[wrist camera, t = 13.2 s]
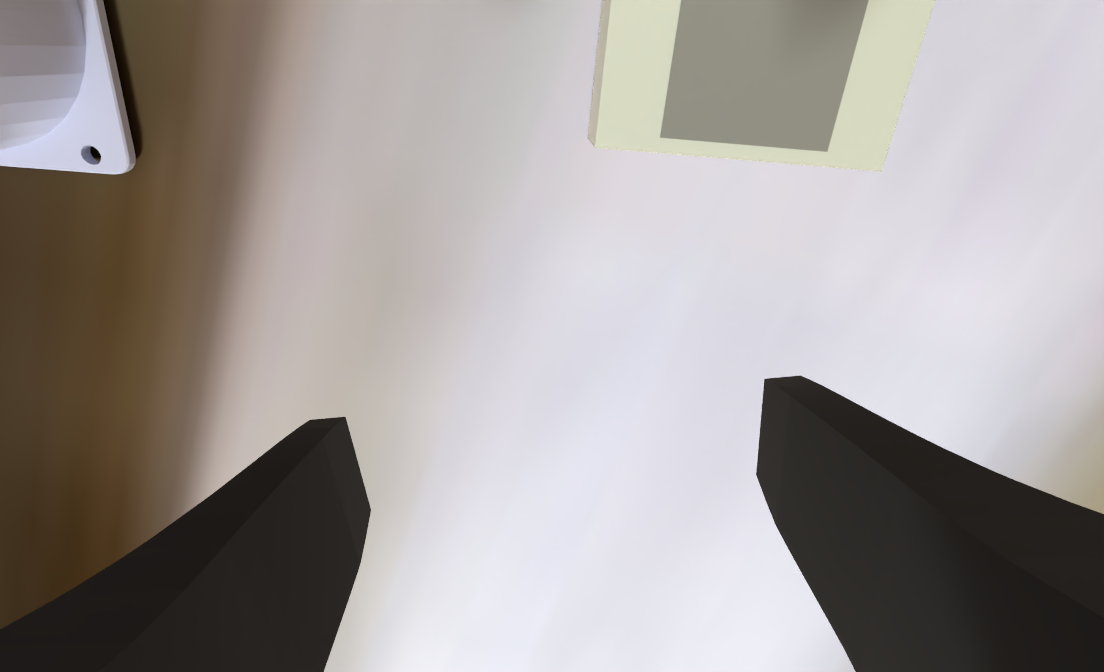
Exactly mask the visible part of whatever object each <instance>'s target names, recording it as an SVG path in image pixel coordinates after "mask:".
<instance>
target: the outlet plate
mask: <svg viewBox="0 0 1104 672" xmlns="http://www.w3.org/2000/svg"><path fill="white" fill-rule="evenodd" d="M934 3H935V0H602V8H601V17H600V27H599V36H598V46H597V55H596V65H595V74H594V84H593V93H592V103H591V112H590V121H589V131H588V139H589V141H590V142H591V143H592V145H593V146H594V147H595V148H603V149H615V150H627V151H640V152H652V153H664V154H676V155H688V156H700V157H712V158H724V159H736V160H748V161H760V162H773V163H785V164H797V165H809V166H821V167H833V168H845V169H857V170H869V171H882V168H883V165H884V162H885V159H886V155H887V152H888V149H889V146H890V143H891V139H892V136H893V133H894V130H895V127H896V124H897V120H898V117H899V114H900V111H901V108H902V104H903V101H904V98H905V95H906V92H907V89H908V85H909V82H910V79H911V76H912V73H913V69H914V66H915V63H916V60H917V57H918V54H919V50H920V47H921V44H922V41H923V38H924V34H925V31H926V28H927V25H928V22H929V19H930V15H931V12H932V9H933V6H934Z"/></svg>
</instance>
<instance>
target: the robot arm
mask: <svg viewBox="0 0 1104 672" xmlns="http://www.w3.org/2000/svg"><path fill="white" fill-rule="evenodd" d="M91 146H93V147H95V148H96V149H97V150H98V151H99V153H100V155H101V161H100V162H99V161H97V160H95V159H94V158H93V157H92V155H91V153H90V147H91ZM135 163H136V156H135V151H134V146H133V141H132V137H131V132H130V127H129V122H128V117H127V113H126V108H125V103H124V98H123V93H122V89H121V84H120V79H119V74H118V69H117V65H116V60H115V55H114V50H113V45H112V41H111V36H110V31H109V26H108V21H107V16H106V12H105V7H104V2H103V0H0V166H11V167H24V168H37V169H51V170H64V171H77V172H91V173H104V174H121V173H125V172H128V171H130V170H131V169H133V167H134V165H135ZM756 475H757V478H758V481H759V483H760V486H761V489H762V491H763V494H764V497H765V499H766V502H767V504H768V507H769V509H770V512H771V514H772V517H773V519H774V522H775V524H776V526H777V528H778V530H779V532H780V534H781V536H782V538H783V540H784V541H785V543H786V545H787V547H788V549H789V551H790V552H791V554H792V556H793V558H794V560H795V561H796V563H797V565H798V567H799V569H800V571H801V572H802V574H803V576H804V578H805V579H806V581H807V583H808V585H809V587H810V588H811V590H812V592H813V594H814V596H815V597H816V599H817V601H818V603H819V605H820V606H821V608H822V610H823V612H824V613H825V615H826V617H827V619H828V621H829V622H830V624H831V626H832V628H833V630H834V631H835V633H836V635H837V637H838V639H839V640H840V642H841V644H842V646H843V648H844V649H845V651H846V653H847V655H848V657H849V659H850V661H851V663H852V665H853V667H854V669H855V671H856V672H1104V514H1102V513H1099V512H1096V511H1093V510H1090V509H1088V508H1085V507H1082V506H1079V505H1076V504H1074V503H1071V502H1069V501H1066V500H1063V499H1061V498H1058V497H1056V496H1053V495H1051V494H1048V493H1046V492H1043V491H1041V490H1038V489H1035V488H1033V487H1030V486H1028V485H1025V484H1023V483H1020V482H1018V481H1015V480H1013V479H1010V478H1008V477H1006V476H1003V475H1001V474H999V473H996V472H994V471H992V470H989V469H987V468H985V467H983V466H981V465H978V464H976V463H974V462H972V461H970V460H968V459H965V458H963V457H961V456H959V455H957V454H955V453H952V452H950V451H948V450H946V449H944V448H942V447H940V446H938V445H936V444H934V443H932V442H930V441H927V440H925V439H923V438H921V437H919V436H917V435H915V434H913V433H911V432H909V431H908V430H906V429H904V428H902V427H900V426H898V425H896V424H894V423H892V422H890V421H888V420H886V419H884V418H882V417H881V416H879V415H877V414H875V413H873V412H871V411H869V410H867V409H865V408H864V407H862V406H860V405H858V404H856V403H854V402H852V401H850V400H849V399H847V398H845V397H843V396H841V395H839V394H837V393H835V392H833V391H831V390H830V389H828V388H826V387H824V386H822V385H820V384H818V383H816V382H813V381H811V380H809V379H807V378H804V377H802V376H792V377H780V378H769V379H765V380H764V392H763V403H762V415H761V427H760V438H759V450H758V462H757V473H756ZM370 512H371V508H370V505H369V501H368V498H367V494H366V490H365V487H364V483H363V479H362V476H361V472H360V468H359V465H358V461H357V457H356V454H355V450H354V447H353V443H352V439H351V436H350V432H349V428H348V425H347V421H346V417H338V418H327V419H316V420H309V421H308V422H306V423H305V424H303V425H302V426H300V427H299V428H297V429H296V430H295V431H293V432H292V433H290V434H289V435H288V436H286V437H285V438H284V439H283V440H281V441H280V442H279V443H277V444H276V445H275V446H273V447H272V448H271V449H270V450H268V451H267V452H266V453H265V454H263V455H262V456H261V457H259V458H258V459H257V460H256V461H254V462H253V463H252V464H251V465H249V466H248V467H247V468H245V469H244V470H243V471H242V472H240V473H239V474H238V475H236V476H235V477H234V478H233V479H231V480H230V481H229V482H227V483H226V484H225V485H224V486H222V487H221V488H220V489H218V490H217V491H216V492H214V493H213V494H212V495H211V496H209V497H208V498H206V499H205V500H204V501H202V502H201V503H199V504H198V505H197V506H195V507H194V508H193V509H191V510H190V511H188V512H187V513H186V514H184V515H183V516H182V517H180V518H179V519H177V520H176V521H175V522H173V523H172V524H170V525H169V526H168V527H166V528H165V529H164V530H162V531H161V532H159V533H158V534H157V535H155V536H154V537H152V538H151V539H150V540H148V541H147V542H145V543H144V544H142V545H141V546H139V547H138V548H136V549H135V550H133V551H132V552H130V553H129V554H127V555H126V556H124V557H123V558H121V559H120V560H118V561H116V562H115V563H113V564H112V565H110V566H109V567H107V568H105V569H104V570H102V571H100V572H99V573H97V574H96V575H94V576H92V577H91V578H89V579H88V580H86V581H84V582H83V583H81V584H80V585H78V586H76V587H75V588H73V589H71V590H70V591H68V592H66V593H65V594H63V595H61V596H60V597H58V598H56V599H55V600H53V601H51V602H49V603H47V604H45V605H44V606H42V607H40V608H38V609H36V610H35V611H33V612H31V613H29V614H27V615H26V616H24V617H22V618H20V619H18V620H17V621H15V622H13V623H11V624H9V625H8V626H6V627H4V628H2V629H0V672H324V669H325V666H326V663H327V660H328V657H329V654H330V652H331V649H332V646H333V643H334V640H335V637H336V634H337V631H338V628H339V626H340V623H341V620H342V617H343V614H344V611H345V608H346V605H347V602H348V599H349V596H350V593H351V590H352V587H353V584H354V581H355V579H356V575H357V572H358V569H359V566H360V563H361V558H362V553H363V549H364V544H365V539H366V534H367V528H368V523H369V517H370Z"/></svg>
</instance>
